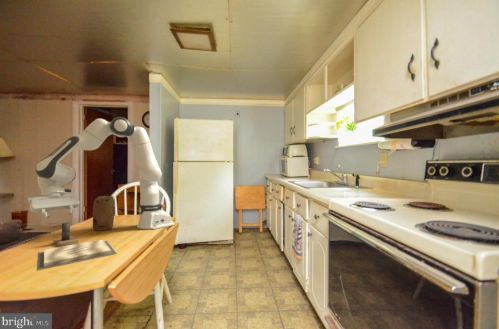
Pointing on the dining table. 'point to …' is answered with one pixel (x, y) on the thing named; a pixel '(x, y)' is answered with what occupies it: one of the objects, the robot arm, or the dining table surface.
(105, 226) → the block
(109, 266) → the dining table surface
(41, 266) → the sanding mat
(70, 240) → the sanding block
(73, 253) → the board
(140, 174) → the robot arm
